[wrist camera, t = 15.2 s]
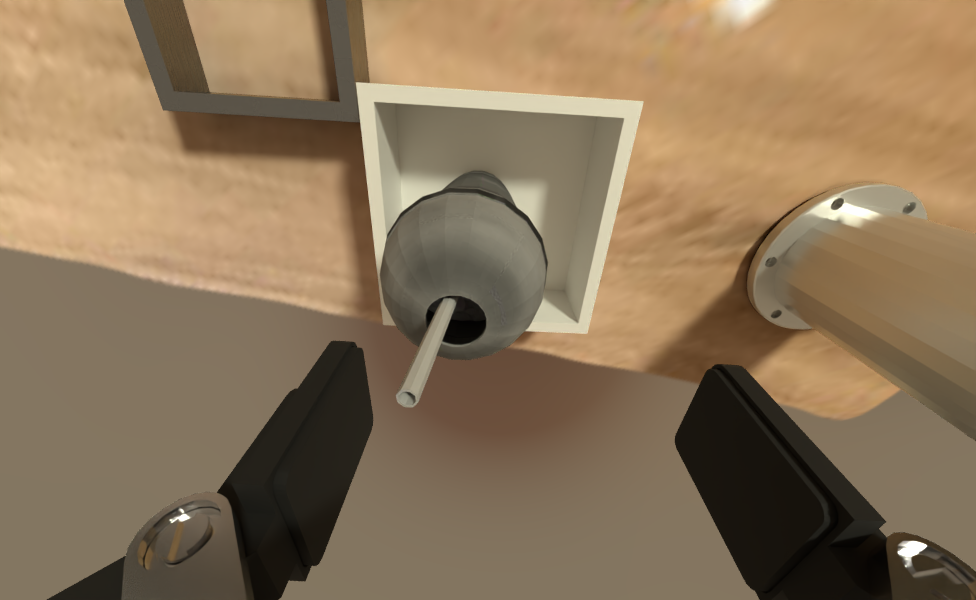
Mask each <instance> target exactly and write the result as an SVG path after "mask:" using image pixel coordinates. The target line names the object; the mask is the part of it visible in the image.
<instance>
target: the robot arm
mask: <svg viewBox="0 0 976 600" xmlns="http://www.w3.org/2000/svg"><path fill="white" fill-rule="evenodd" d="M747 291H748V297H749V299H750V301H751V304H752V306H753V307H754V308H755V309H756V311H757V312H758V313H759V314H760V315H762V316H763V317H764V318H765V319H767V320H768V321H769V322H772V323H774V324H776V325H778V326H780V327H785V328H789V329H812V328H814V329H815V330H816V331H818V332H819V333H821V334H822V335H824V336H825V337H826V338H828V339H829V340H831V341H832V342H834V343H835V344H837V345H838V346H839V347H841V348H842V349H844V350H845V351H847V352H848V353H849V354H851V355H852V356H854V357H855V358H857V359H858V360H860V361H861V362H862V363H864V364H865V365H867V366H868V367H870V368H871V369H872V370H874V371H875V372H877V373H878V374H880V375H881V376H882V377H884V378H885V379H887V380H888V381H890V382H891V383H893V384H894V385H895V386H897V387H898V388H900V389H901V390H903V391H904V392H905V393H907V394H908V395H910V396H911V397H913V398H914V399H916V400H917V401H919V402H920V403H921V404H923V405H924V406H926V407H927V408H928V409H930V410H932V411H933V412H934V413H936V414H937V415H939V416H940V417H941V418H943V419H944V420H946V421H947V422H949V423H950V424H952V425H953V426H954V427H956V428H957V429H959V430H960V431H962V432H963V433H964V434H966V435H967V436H969V437H970V438H972V439H974V440H975V441H976V233H973V232H970V231H966V230H962V229H959V228H955V227H951V226H948V225H944V224H940V223H937V222H933V221H929V220H928V219H927V212H926V210H925V208H924V206H923V204H922V202H921V200H920V199H919V198H918V197H917V196H915V195H914V194H913V193H912V192H910V191H908V190H906V189H904V188H902V187H899V186H894V185H889V184H885V183H876V182H862V183H855V184H848V185H845V186H842V187H838V188H835V189H832V190H829V191H827V192H825V193H823V194H821V195H818V196H816V197H814V198H812V199H811V200H809V201H807V202H806V203H804V204H803V205H801V206H799V207H798V208H796V209H795V210H794V211H793V212H791V213H790V214H789V215H788V216H787V217H785V218H784V219H783V220H782V221H781V222H780V223H779V224H778V225H777V226H776V227H775V228H774V229H773V230H772V231H771V232H770V233H769V234H768V236H767V237H766V239H765V240H764V241H763V243H762V244H761V245H760V247H759V249H758V250H757V252H756V254H755V256H754V258H753V260H752V263H751V266H750V269H749V272H748V279H747ZM372 426H373V413H372V406H371V400H370V393H369V386H368V380H367V373H366V367H365V361H364V354H363V350H362V348H357V346H356V344H355V343H354V342H346V341H331V342H330V343H329V345H328V346H327V348H326V349H325V351H324V352H323V353H322V355H321V356H320V358H319V359H318V361H317V362H316V363H315V365H314V366H313V368H312V369H311V370H310V372H309V373H308V375H307V376H306V378H305V379H304V380H303V382H302V383H301V385H300V386H299V388H298V389H294V390H292V391H290V392H289V394H288V395H287V396H286V397H285V399H284V400H283V401H282V403H281V404H280V406H279V407H278V408H277V410H276V411H275V412H274V414H273V415H272V417H271V418H270V419H269V421H268V422H267V424H266V425H265V426H264V428H263V429H262V431H261V432H260V433H259V435H258V436H257V438H256V439H255V440H254V442H253V443H252V444H251V446H250V447H249V449H248V450H247V451H246V453H245V454H244V456H243V457H242V458H241V460H240V461H239V463H238V464H237V465H236V467H235V468H234V469H233V471H232V472H231V474H230V475H229V476H228V478H227V479H226V480H225V482H224V483H223V485H222V486H221V488H220V489H219V490H218V492H217V493H214V492H202V493H195V494H192V495H190V496H187V497H184V498H181V499H179V500H177V501H175V502H174V503H172V504H170V505H168V506H167V507H165V508H163V509H162V510H161V511H160V512H158V513H157V514H156V515H154V516H153V517H152V518H151V519H149V520H148V521H147V523H146V524H145V525H144V526H143V527H142V528H141V529H140V530H139V531H138V532H137V534H136V535H135V537H134V539H133V540H132V542H131V543H130V545H129V547H128V549H127V553H126V556H124V557H123V558H121V559H119V560H117V561H116V562H114V563H112V564H110V565H108V566H107V567H105V568H103V569H101V570H99V571H97V572H96V573H94V574H92V575H90V576H89V577H87V578H85V579H83V580H81V581H79V582H78V583H76V584H74V585H72V586H71V587H69V588H67V589H65V590H63V591H62V592H60V593H58V594H56V595H54V596H52V597H51V598H49V599H47V600H278V599H280V598H281V597H282V594H283V592H284V590H285V587H286V585H287V583H288V581H289V580H290V581H306V578H307V576H308V573H309V571H310V568H311V566H316V565H318V564H319V563H320V561H321V559H322V557H323V554H324V552H325V549H326V546H327V544H328V541H329V539H330V536H331V534H332V531H333V529H334V526H335V523H336V520H337V518H338V516H339V513H340V510H341V508H342V505H343V503H344V500H345V497H346V495H347V492H348V490H349V487H350V484H351V482H352V479H353V477H354V474H355V471H356V469H357V466H358V464H359V461H360V459H361V456H362V453H363V451H364V448H365V445H366V443H367V440H368V438H369V435H370V433H371V430H372ZM675 445H676V448H677V450H678V452H679V454H680V456H681V458H682V460H683V462H684V464H685V466H686V468H687V470H688V472H689V474H690V475H691V477H692V480H693V481H694V483H695V485H696V487H697V489H698V491H699V493H700V495H701V497H702V499H703V501H704V503H705V505H706V507H707V509H708V511H709V512H710V514H711V516H712V518H713V520H714V522H715V524H716V526H717V528H718V530H719V532H720V534H721V536H722V538H723V539H724V542H725V544H726V546H727V548H728V549H729V551H730V553H731V555H732V557H733V559H734V561H735V563H736V565H737V567H738V569H739V571H740V573H741V575H742V577H743V578H744V580H745V582H746V584H747V585H748V586H749V587H750V588H751V589H753V590H755V592H756V593H757V596H758V597H759V599H760V600H976V571H974V570H973V569H972V568H971V567H970V566H969V565H967V564H966V563H965V562H963V561H962V560H960V559H959V558H958V557H956V556H955V555H954V554H953V553H951V552H949V551H948V550H946V549H944V548H943V547H941V546H939V545H937V544H936V543H934V542H932V541H929V540H927V539H925V538H922V537H920V536H918V535H914V534H909V533H905V532H896V533H895V532H894V533H892V534H891V535H889V536H888V537H886V536H885V535H884V534H883V533H882V532H881V531H880V530H879V528H880V527H881V526H882V525H883V524H884V523H886V521H885V520H884V519H883V518H882V517H881V515H880V514H879V513H878V512H877V511H876V510H875V509H874V508H873V507H872V506H871V505H870V504H869V502H868V501H867V500H866V499H865V498H864V497H863V496H862V495H861V494H860V493H859V492H858V491H857V489H856V488H855V487H854V486H853V485H852V484H851V483H850V482H849V481H848V480H847V479H846V478H845V476H844V475H843V474H842V473H841V472H840V471H839V470H838V469H837V468H836V467H835V466H834V465H833V464H832V462H831V461H830V460H829V459H828V458H827V457H826V456H825V455H824V454H823V453H822V452H821V451H820V449H819V448H818V447H817V446H816V445H815V444H814V443H813V442H812V441H811V440H810V439H809V438H808V436H806V434H805V433H804V432H803V431H802V430H801V429H800V428H799V427H798V426H797V425H796V424H795V422H794V421H793V420H792V419H791V418H790V417H789V416H788V415H787V414H786V413H785V412H784V411H783V409H782V408H781V407H780V406H779V405H778V404H777V403H776V402H775V401H774V400H773V399H772V398H771V396H770V395H769V394H768V393H767V392H766V391H765V390H764V389H763V388H762V387H761V386H760V385H759V383H758V382H757V381H756V380H755V379H754V378H753V377H752V376H751V375H750V374H749V373H748V372H747V370H746V369H744V368H743V367H742V366H739V365H723V364H717V365H714V366H713V367H712V368H711V369H709V370H707V371H706V373H705V375H704V377H703V379H702V381H701V383H700V385H699V387H698V389H697V391H696V393H695V396H694V398H693V400H692V402H691V404H690V406H689V408H688V410H687V412H686V414H685V416H684V419H683V421H682V423H681V425H680V427H679V429H678V431H677V433H676V436H675Z"/></svg>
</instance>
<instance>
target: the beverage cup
mask: <svg viewBox="0 0 976 600" xmlns="http://www.w3.org/2000/svg"><path fill="white" fill-rule="evenodd" d="M547 267H548V260H547V256H546V252H545V247H544V243H543V239H542V237H541V235H540V234H539V232H538V231H537V229H536V228H535V226H534V225H533V223H532V221H531V220H530V218H529V217H528V216H527V215H526V214H525V213H524V212H522V211H521V210H520V209H518V208H517V207H516V205H515V203H514V201H513V199H512V197H511V195H510V193H509V191H508V190H507V188H506V187H505V185H504V184H503V183H502V182H501V180H499V179H498V178H497V177H496V176H494V175H493V174H491V173H488V172H485V171H470V172H467V173H464V174H463V175H460V176H459V177H457V178H456V179H455V180H453V181H452V182H451V183H450V184H448V185H447V186H446V187H445V188H444V189H443V190H441V191H438V192H435V193H432V194H429V195H426V196H422V197H421V198H420V199H418V200H417V201H416V202H414V203H413V204H412V205H410V206H409V207H408V208H406V209H405V210H404V211H402V212H401V213H400V215H399V217H398V218H397V220H396V221H395V223H394V224H393V226H392V228H391V229H390V231H389V232H388V234H387V238H386V243H385V248H384V253H383V258H382V264H381V269H380V280H381V287H382V293H383V299H384V304H385V306H386V308H387V310H388V312H389V314H390V316H391V317H392V319H393V321H394V323H395V325H396V327H397V328H398V329H399V330H400V331H401V332H402V333H403V334H404V335H405V336H406V337H407V338H408V339H409V340H410V341H411V342H412V343H413V344H415V345H417V346H418V347H419V348H418V350H417V352H416V354H415V356H414V358H413V360H412V362H411V365H410V367H409V369H408V371H407V373H406V375H405V377H404V379H403V381H402V383H401V385H400V388H399V390H398V392H397V394H396V397H397V402H398V403H399V404H401V405H402V406H404V407H414V406H415V405H416V404H417V403H418V402H419V399H420V397H421V394H422V392H423V389H424V386H425V383H426V381H427V379H428V376H429V373H430V371H431V368H432V366H433V363H434V360H435V358H436V356H440V357H443V358H447V359H452V360H453V359H454V360H471V359H476V358H481V357H485V356H489V355H493V354H495V353H497V352H498V351H500V350H502V349H504V348H506V347H508V346H510V345H511V344H512V343H513V342H514V341H515V340H516V339H517V338H518V337H519V336H520V335H521V334H522V333H523V332H524V331H525V330H526V329H528V328H529V326H530V324H531V323H532V321H533V319H534V317H535V315H536V313H537V311H538V309H539V307H540V305H541V303H542V299H543V294H544V288H545V284H546V275H547Z"/></svg>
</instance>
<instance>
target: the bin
mask: <svg viewBox="0 0 976 600" xmlns="http://www.w3.org/2000/svg"><path fill="white" fill-rule="evenodd" d="M356 88H357V97H358V106H359V115H360V124H361V133H362V142H363V150H364V159H365V168H366V177H367V186H368V195H369V204H370V213H371V222H372V230H373V239H374V248H375V257H376V266H377V275H378V284H379V293H380V301H381V310H382V319H383V325H389V326H396V325H395V323H394V321H393V319H392V317H391V316H390V314H389V312H388V310H387V308H386V306H385V304H384V299H383V293H382V287H381V280H380V269H381V264H382V258H383V253H384V248H385V243H386V238H387V234H388V232H389V231H390V229H391V228H392V226H393V224H394V223H395V221H396V220H397V218H398V217H399V215H400V213H401V212H402V211H404V210H405V209H406V208H408V207H409V206H410V205H412V204H413V203H414V202H416V201H417V200H418V199H420V198H421V197H422V196H426V195H429V194H432V193H435V192H438V191H441V190H443V189H444V188H445V187H446V186H447V185H448V184H450V183H451V182H452V181H453V180H455V179H456V178H457V177H459V176H460V175H463V174H464V173H467V172H470V171H485V172H488V173H491V174H493V175H494V176H496V177H497V178H498V179H499V180H501V182H502V183H503V184H504V185H505V187H506V188H507V190H508V191H509V193H510V195H511V197H512V199H513V201H514V203H515V205H516V207H517V208H518V209H520V210H521V211H522V212H524V213H525V214H526V215H527V216H528V217H529V218H530V220H531V221H532V223H533V225H534V226H535V228H536V229H537V231H538V232H539V234H540V235H541V237H542V239H543V243H544V247H545V252H546V256H547V260H548V267H547V275H546V284H545V288H544V294H543V299H542V303H541V305H540V307H539V309H538V311H537V313H536V315H535V317H534V319H533V321H532V323H531V324H530V326H529V328H528V329H526V330H525V331H534V332H558V333H583V334H587V332H588V328H589V324H590V320H591V316H592V312H593V308H594V304H595V299H596V295H597V291H598V287H599V283H600V279H601V275H602V271H603V267H604V262H605V258H606V254H607V250H608V246H609V242H610V238H611V234H612V230H613V225H614V221H615V217H616V213H617V209H618V205H619V201H620V197H621V193H622V189H623V184H624V180H625V176H626V172H627V168H628V164H629V160H630V156H631V152H632V147H633V143H634V139H635V135H636V131H637V127H638V123H639V119H640V115H641V110H642V106H643V102H644V101H630V100H615V99H600V98H585V97H570V96H555V95H540V94H525V93H510V92H495V91H480V90H465V89H450V88H435V87H420V86H405V85H390V84H375V83H360V82H356Z"/></svg>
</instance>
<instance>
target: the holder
mask: <svg viewBox="0 0 976 600" xmlns="http://www.w3.org/2000/svg"><path fill="white" fill-rule="evenodd" d="M124 2H125V5H126V8H127V11H128V14H129V16H130V19H131V22H132V25H133V28H134V30H135V33H136V36H137V39H138V41H139V44H140V47H141V50H142V53H143V55H144V58H145V61H146V64H147V67H148V69H149V72H150V75H151V78H152V80H153V83H154V86H155V89H156V92H157V94H158V97H159V100H160V103H161V106H162V108H163V110H168V111H184V112H200V113H216V114H232V115H248V116H264V117H280V118H296V119H312V120H328V121H344V122H360V115H359V106H358V97H357V88H356V82H360V83H370V82H369V72H368V61H367V51H366V40H365V30H364V19H363V9H362V0H326V4H327V11H328V18H329V26H330V33H331V41H332V48H333V55H334V63H335V70H336V78H337V85H338V92H339V100H340V101H335V100H319V99H304V98H288V97H273V96H257V95H242V94H226V93H211V92H209V88H208V85H207V82H206V78H205V75H204V71H203V68H202V65H201V61H200V58H199V54H198V51H197V48H196V44H195V41H194V37H193V34H192V31H191V27H190V24H189V20H188V17H187V14H186V10H185V7H184V3H183V0H124Z"/></svg>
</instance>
